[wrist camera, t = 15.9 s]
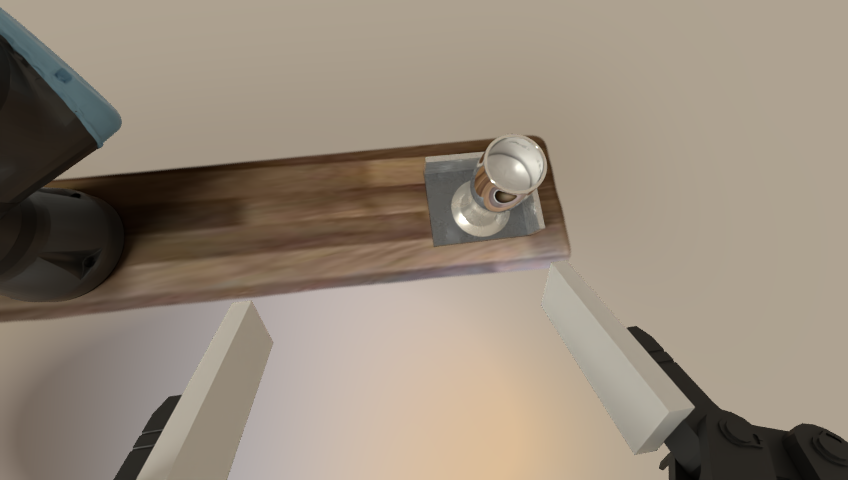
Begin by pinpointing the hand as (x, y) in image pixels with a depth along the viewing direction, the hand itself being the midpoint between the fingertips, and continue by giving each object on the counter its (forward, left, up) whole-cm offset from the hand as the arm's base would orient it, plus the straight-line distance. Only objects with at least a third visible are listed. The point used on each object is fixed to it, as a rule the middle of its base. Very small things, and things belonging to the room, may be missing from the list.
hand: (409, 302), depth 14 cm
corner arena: (-10, +15, -30) cm, 35 cm away
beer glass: (-9, +15, -29) cm, 34 cm away
